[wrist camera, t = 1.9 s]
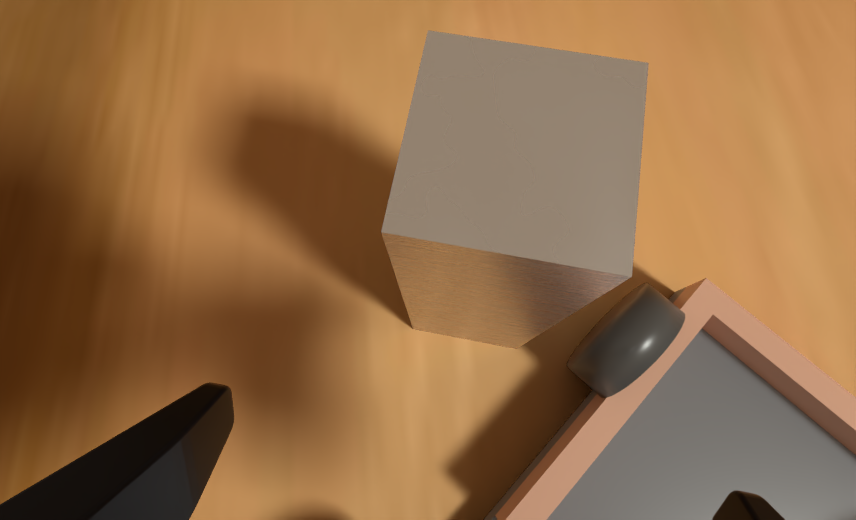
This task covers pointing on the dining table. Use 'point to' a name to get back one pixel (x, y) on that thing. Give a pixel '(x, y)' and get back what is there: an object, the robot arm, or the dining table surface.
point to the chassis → (692, 420)
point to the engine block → (514, 186)
